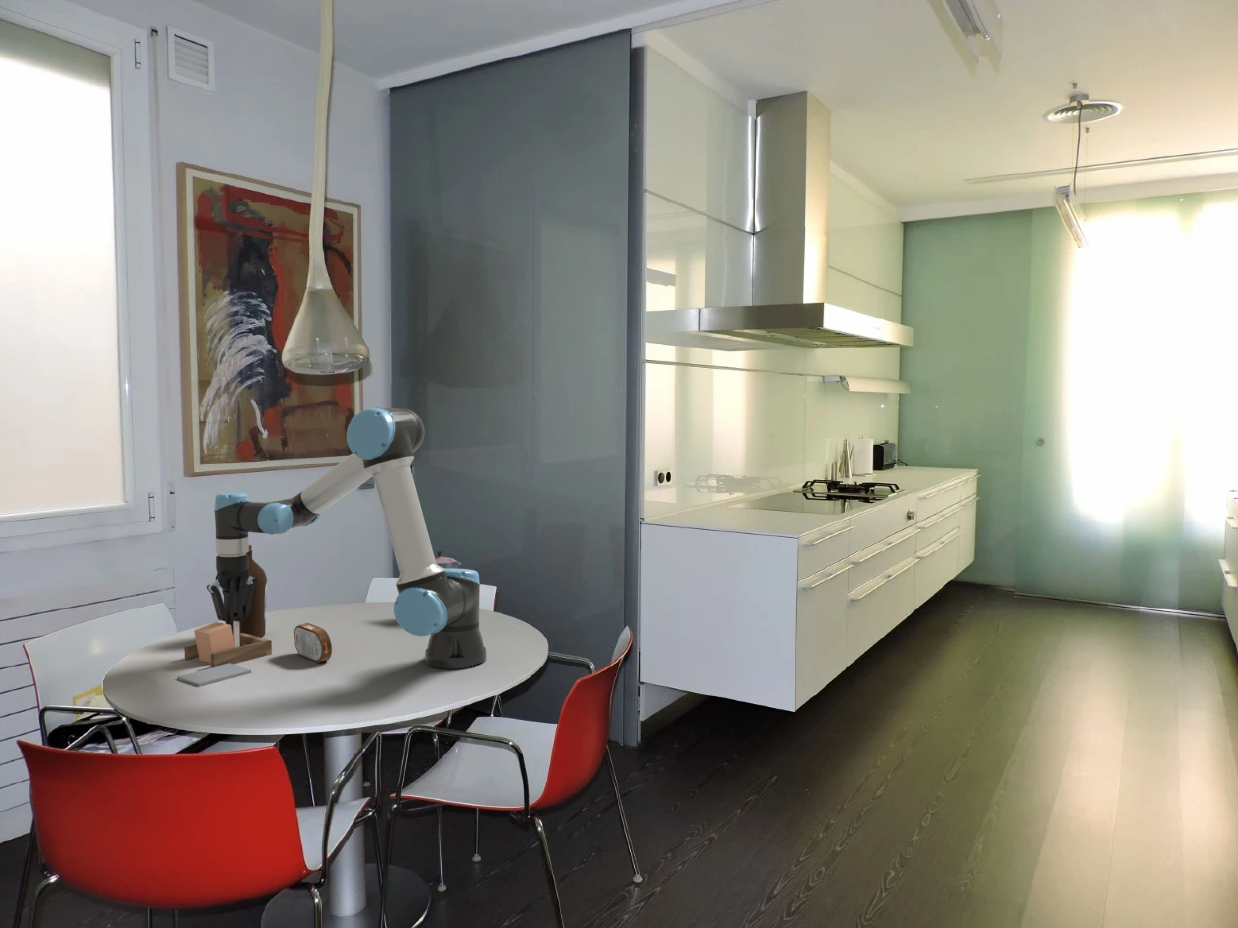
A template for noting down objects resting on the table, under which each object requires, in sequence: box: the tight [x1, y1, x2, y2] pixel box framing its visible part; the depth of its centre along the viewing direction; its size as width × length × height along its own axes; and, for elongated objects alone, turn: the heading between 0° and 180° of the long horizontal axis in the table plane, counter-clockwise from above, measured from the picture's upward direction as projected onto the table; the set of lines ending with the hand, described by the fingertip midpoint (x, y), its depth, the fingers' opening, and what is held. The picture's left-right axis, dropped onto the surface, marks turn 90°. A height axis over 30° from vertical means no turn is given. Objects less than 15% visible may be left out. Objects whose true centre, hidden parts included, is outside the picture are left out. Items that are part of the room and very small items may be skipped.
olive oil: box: [240, 544, 268, 638], centre depth 241 cm, size 11×11×25 cm
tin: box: [293, 622, 333, 664], centre depth 221 cm, size 15×3×8 cm, turn 47°
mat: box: [176, 663, 252, 687], centre depth 207 cm, size 9×13×1 cm
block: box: [193, 621, 235, 664], centre depth 219 cm, size 6×6×8 cm
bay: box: [183, 633, 273, 668], centre depth 222 cm, size 13×16×4 cm
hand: (234, 646), depth 224 cm, fingers closed
